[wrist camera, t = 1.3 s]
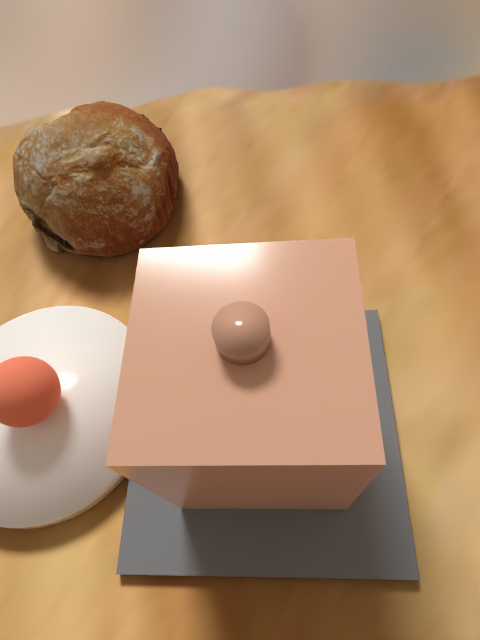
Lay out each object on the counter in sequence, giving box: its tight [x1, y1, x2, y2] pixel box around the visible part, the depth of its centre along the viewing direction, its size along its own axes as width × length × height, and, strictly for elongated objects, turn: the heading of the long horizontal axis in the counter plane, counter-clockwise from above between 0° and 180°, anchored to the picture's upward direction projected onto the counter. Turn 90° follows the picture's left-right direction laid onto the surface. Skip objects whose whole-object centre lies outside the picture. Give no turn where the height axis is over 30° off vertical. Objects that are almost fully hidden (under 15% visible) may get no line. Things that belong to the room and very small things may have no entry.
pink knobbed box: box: [106, 238, 386, 509], centre depth 16 cm, size 7×7×10 cm
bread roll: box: [13, 101, 179, 257], centre depth 28 cm, size 10×10×8 cm
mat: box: [116, 310, 420, 580], centre depth 21 cm, size 12×12×1 cm
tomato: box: [0, 356, 61, 428], centre depth 20 cm, size 3×3×3 cm
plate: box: [0, 306, 127, 529], centre depth 22 cm, size 11×11×1 cm
